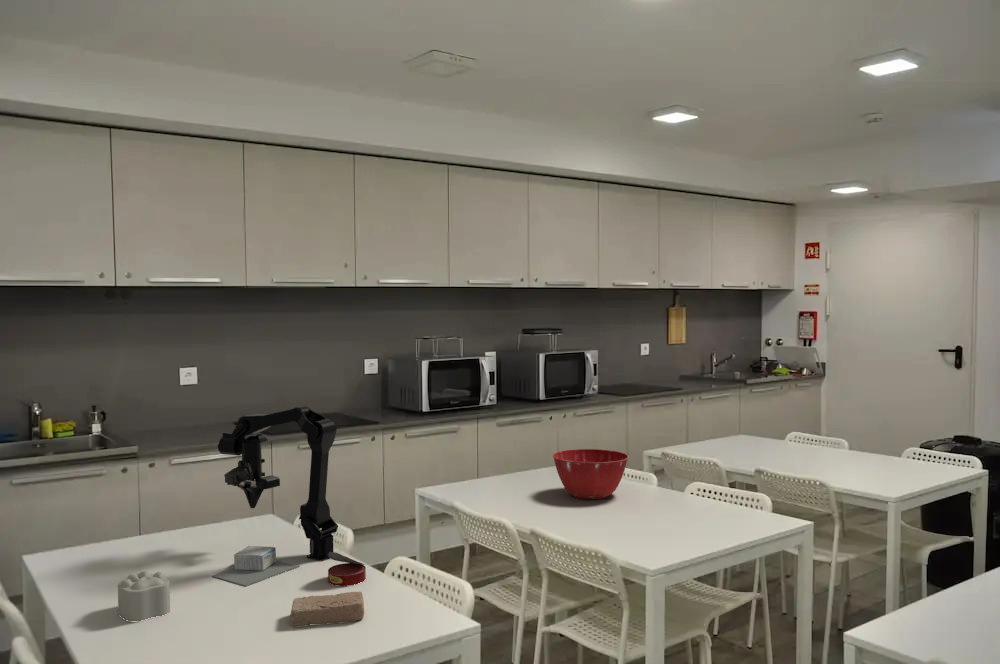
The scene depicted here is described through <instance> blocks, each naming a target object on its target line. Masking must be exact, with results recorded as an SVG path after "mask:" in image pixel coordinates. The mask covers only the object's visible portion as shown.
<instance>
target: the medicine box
mask: <svg viewBox="0 0 1000 664" xmlns="http://www.w3.org/2000/svg"><path fill="white" fill-rule="evenodd" d="M276 560H277V550H276V547H274V546H262V545H247V546H246V547H244V548H242V549H241V550H239V551H237V552H236V553H234V554H233V565H234V567H233V568H234V569H235V570H255V571H263V570H264V569H266V568H267V567H269V566H270V565H272V564H273V563H275V562H276Z"/></svg>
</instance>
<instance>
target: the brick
mask: <svg viewBox="0 0 1000 664" xmlns="http://www.w3.org/2000/svg"><path fill="white" fill-rule="evenodd" d="M363 595H364V593H363V591H350V592H348V591H347V592H341V593H337V594H326V595H325V594H324V595H310V596H301V597H296V598H294V599H293V600H292V605H291V609H290V617H289V618H290V627H291V626H292V627H291V628H294V627H293V626H301V627H306V626H305V625H308V626H311V625H310V624H321V625H328V624H327V623H332V624H340V623H339V622H343V623H351V622H350V621H352V622H355V621H360V620H362V619H363V618H364V616H365V604H364V596H363Z"/></svg>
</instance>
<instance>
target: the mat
mask: <svg viewBox="0 0 1000 664" xmlns="http://www.w3.org/2000/svg"><path fill="white" fill-rule="evenodd" d="M297 567H298V568H300V565H297V564H292V563H289V562H285V561H281V560H277V559H276V562H275V563H273V564H272V565H270V566H269V567H267V568H266V569H264V570H263V571H255V570H235V569H234V567H233V568H231V569H230V568H229V569H228V570H225V571H221V572H218V573H216V574H213V575H211V577H212V578H215V579H219V580H222V581H226V582H229V583H233V584H236V585H240V586H243V587H248V586H250V585H254V584H257V583H260V582H262V581H265V580H268V579H270V577H271V578H273V577H275V575H276V576H278V574H279V575H281V573H282V574H284V573H286V572H285V571H287V572H289V571H288V570H290V571H292V569H293V570H295V569H298V568H297ZM294 568H295V569H294ZM283 572H284V573H283ZM272 576H273V577H272ZM267 578H268V579H267Z"/></svg>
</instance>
